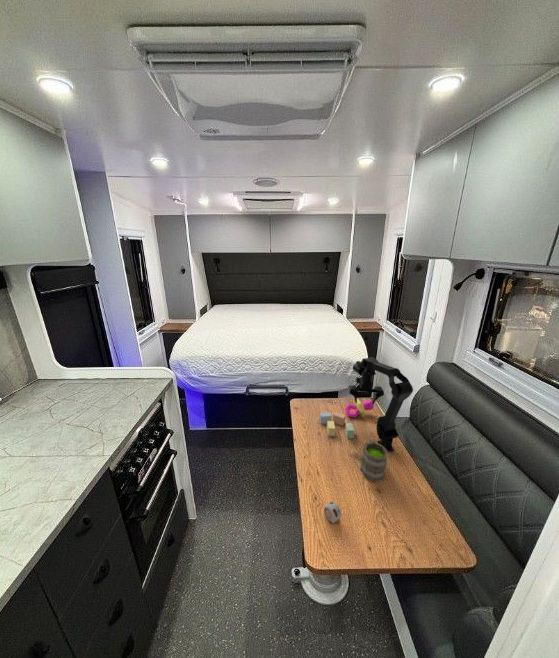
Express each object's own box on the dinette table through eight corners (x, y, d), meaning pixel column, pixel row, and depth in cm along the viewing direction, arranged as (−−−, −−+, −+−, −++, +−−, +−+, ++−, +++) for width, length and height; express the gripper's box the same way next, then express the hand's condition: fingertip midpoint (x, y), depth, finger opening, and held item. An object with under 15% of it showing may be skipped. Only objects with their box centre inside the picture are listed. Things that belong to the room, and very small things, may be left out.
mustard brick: (334, 436, 140) (335, 428, 138) (328, 435, 140) (328, 428, 138) (333, 428, 146) (333, 421, 144) (326, 428, 146) (327, 421, 144)
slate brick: (329, 419, 153) (329, 412, 152) (330, 423, 150) (331, 415, 149) (319, 420, 153) (319, 412, 151) (321, 423, 149) (321, 416, 148)
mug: (387, 483, 112) (391, 462, 108) (361, 479, 114) (364, 457, 110) (381, 456, 126) (384, 436, 123) (358, 452, 128) (360, 433, 125)
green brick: (353, 438, 138) (354, 430, 137) (347, 438, 139) (347, 430, 137) (351, 430, 144) (352, 423, 143) (344, 430, 144) (345, 423, 143)
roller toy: (330, 507, 101) (331, 496, 99) (342, 520, 96) (344, 509, 95) (322, 513, 99) (323, 502, 97) (334, 527, 94) (335, 516, 92)
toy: (343, 409, 164) (342, 401, 157) (369, 400, 165) (370, 392, 158) (349, 423, 157) (349, 415, 150) (377, 414, 157) (378, 406, 150)
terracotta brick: (344, 422, 151) (345, 415, 149) (342, 425, 148) (343, 418, 147) (335, 418, 154) (335, 411, 152) (332, 422, 151) (333, 414, 150)
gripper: (380, 373, 150) (377, 396, 154) (347, 371, 152) (345, 395, 156) (385, 382, 139) (382, 407, 144) (350, 380, 141) (348, 405, 145)
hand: (364, 403), depth 148 cm, fingers open, 9 cm apart
